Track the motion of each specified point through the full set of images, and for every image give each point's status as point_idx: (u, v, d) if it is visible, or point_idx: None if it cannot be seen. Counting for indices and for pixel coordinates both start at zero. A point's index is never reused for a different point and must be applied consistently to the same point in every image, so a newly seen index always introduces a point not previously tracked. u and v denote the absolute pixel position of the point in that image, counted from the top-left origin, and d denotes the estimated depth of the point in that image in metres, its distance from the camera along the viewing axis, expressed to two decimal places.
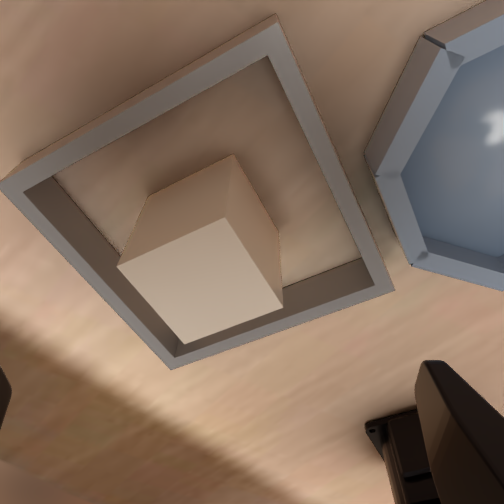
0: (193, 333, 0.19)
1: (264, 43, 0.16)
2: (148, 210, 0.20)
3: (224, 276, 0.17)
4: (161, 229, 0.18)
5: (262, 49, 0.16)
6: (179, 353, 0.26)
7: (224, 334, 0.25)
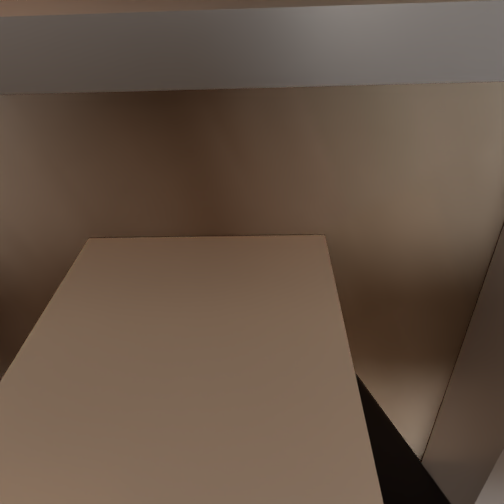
0: None
1: None
2: None
3: None
4: None
5: None
6: None
7: (474, 469, 0.10)
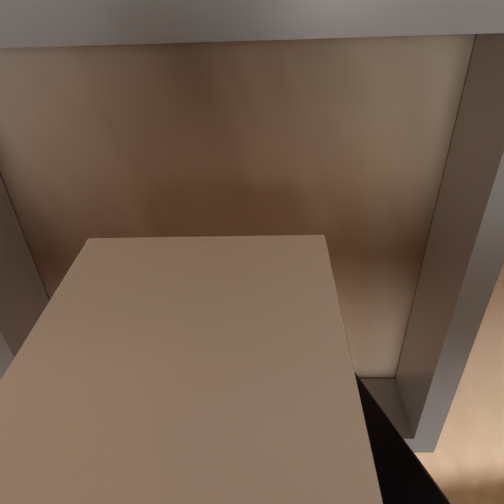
0: None
1: None
2: None
3: None
4: None
5: None
6: (413, 426, 0.14)
7: (429, 360, 0.13)
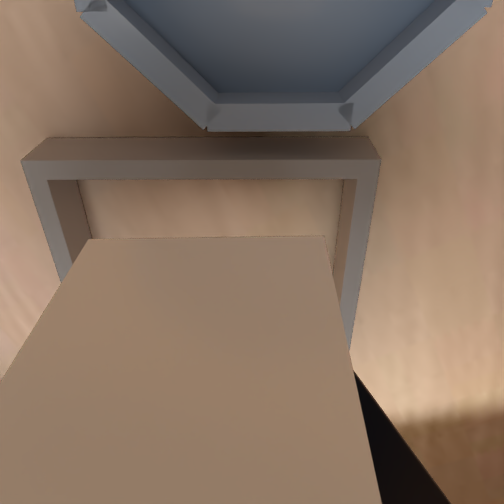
0: None
1: (35, 178, 0.17)
2: None
3: None
4: None
5: (40, 181, 0.17)
6: None
7: None
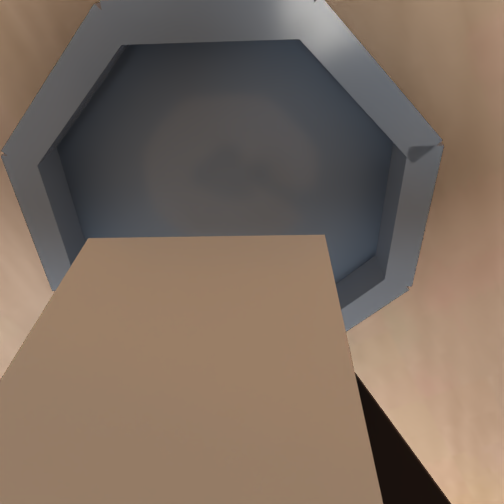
0: None
1: None
2: None
3: None
4: None
5: None
6: None
7: None
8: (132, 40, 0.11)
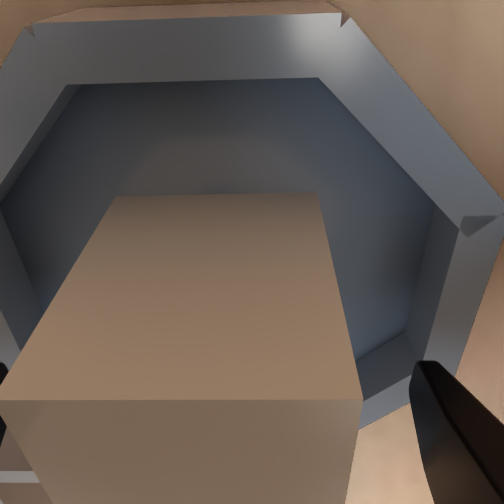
0: None
1: None
2: None
3: (180, 457, 0.07)
4: None
5: None
6: None
7: None
8: (81, 78, 0.08)
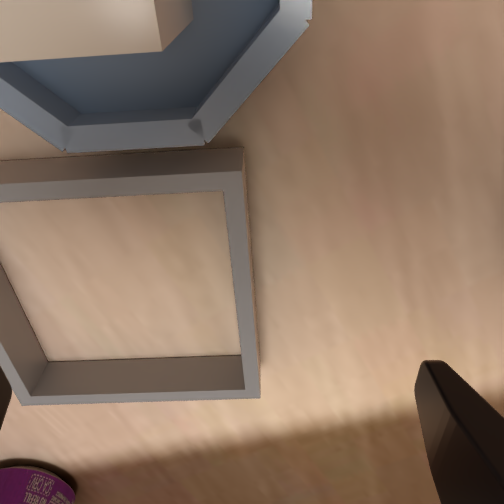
0: (138, 16, 0.10)
1: None
2: None
3: None
4: None
5: None
6: (245, 382, 0.24)
7: None
8: None
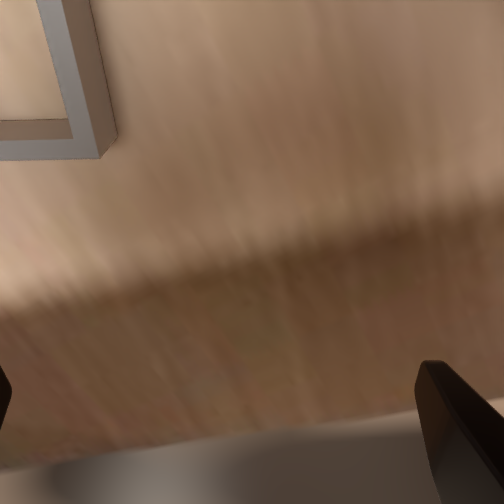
0: None
1: None
2: None
3: None
4: None
5: None
6: None
7: None
8: None
